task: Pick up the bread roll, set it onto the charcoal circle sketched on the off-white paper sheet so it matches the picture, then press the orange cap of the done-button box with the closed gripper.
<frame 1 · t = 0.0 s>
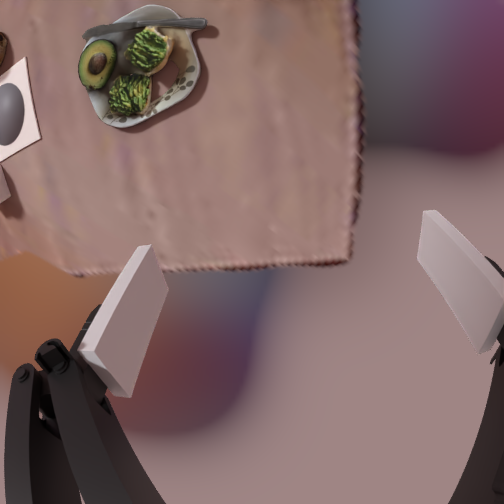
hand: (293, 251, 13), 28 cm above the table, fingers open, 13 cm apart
salad plate: (135, 64, 31), on the table
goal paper: (5, 114, 32), on the table
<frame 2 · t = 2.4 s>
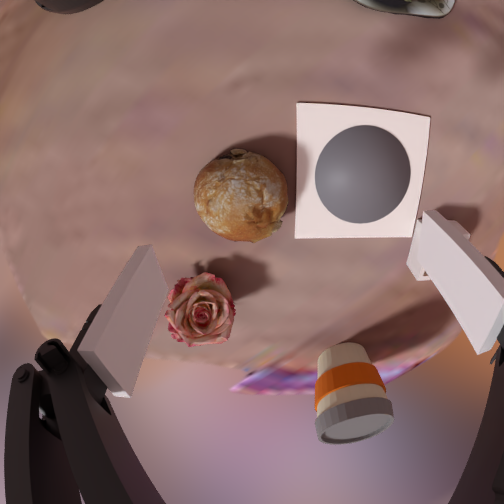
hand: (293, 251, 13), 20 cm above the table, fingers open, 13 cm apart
done button housing: (431, 242, 35), on the table
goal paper: (364, 175, 31), on the table
bread roll: (244, 192, 33), on the table
reusable coffee cup: (341, 357, 49), on the table
flower: (205, 288, 40), on the table
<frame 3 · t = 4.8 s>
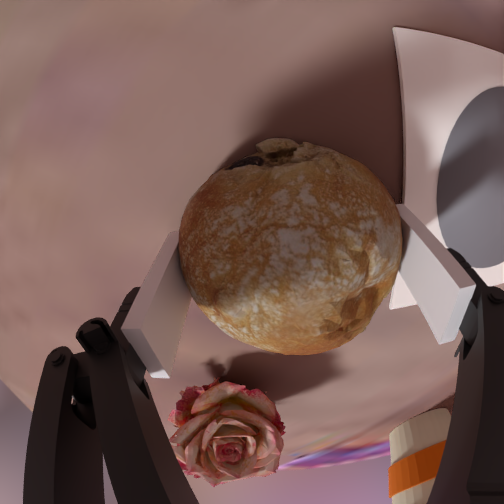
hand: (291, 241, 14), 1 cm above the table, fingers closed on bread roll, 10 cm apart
bread roll: (294, 236, 15), on the table, touching gripper
reusable coffee cup: (419, 423, 29), on the table
flower: (230, 389, 23), on the table
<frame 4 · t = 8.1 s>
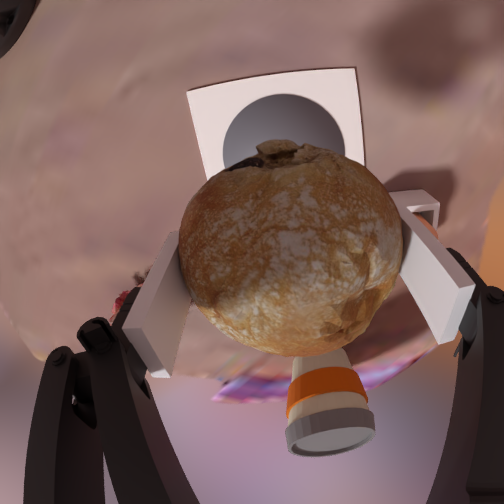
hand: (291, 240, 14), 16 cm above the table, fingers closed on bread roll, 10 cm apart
done button housing: (395, 219, 31), on the table
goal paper: (284, 153, 27), on the table
bread roll: (294, 237, 15), point 15 cm above the table, touching gripper
reusable coffee cup: (319, 360, 44), on the table
done button: (412, 238, 27), point 4 cm above the table, slide at 0.0 cm
when the fingers open (2 cm above the table, at t = 11.3 s): bread roll drops 1 cm, resting on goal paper.
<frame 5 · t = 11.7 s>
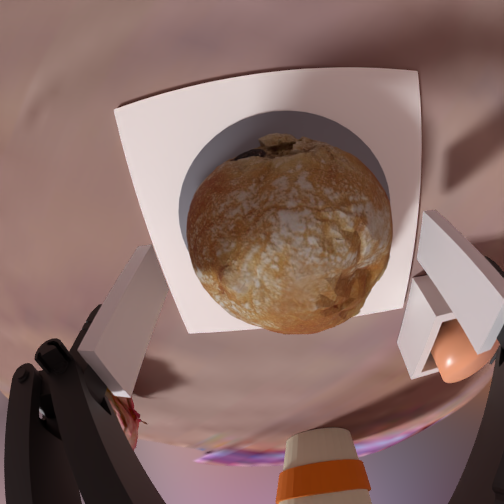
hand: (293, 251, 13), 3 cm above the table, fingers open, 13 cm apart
done button housing: (440, 305, 19), on the table
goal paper: (287, 219, 16), on the table
bread roll: (293, 224, 16), resting on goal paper
reusable coffee cup: (318, 438, 33), on the table
flower: (111, 380, 27), on the table
done button: (464, 345, 16), point 4 cm above the table, slide at 0.0 cm
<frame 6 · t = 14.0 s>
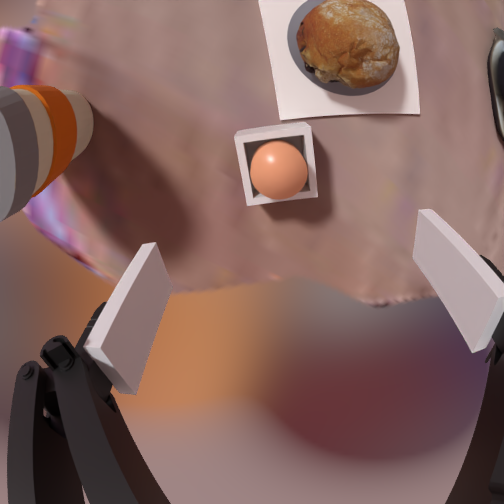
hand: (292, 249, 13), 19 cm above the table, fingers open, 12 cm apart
done button housing: (276, 157, 30), on the table
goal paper: (345, 42, 22), on the table
bread roll: (343, 45, 23), resting on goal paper
reusable coffee cup: (66, 124, 27), on the table
done button: (278, 168, 26), point 4 cm above the table, slide at 0.0 cm
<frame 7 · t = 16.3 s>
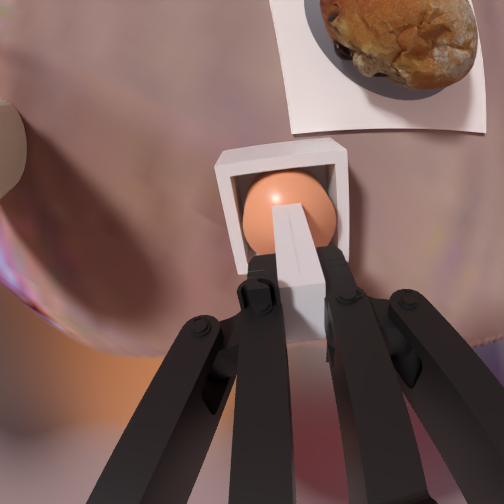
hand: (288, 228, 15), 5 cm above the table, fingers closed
done button housing: (283, 192, 20), on the table
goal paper: (391, 19, 12), on the table
bread roll: (389, 22, 12), resting on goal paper
done button: (287, 213, 17), point 3 cm above the table, slide at 1.0 cm, touching gripper
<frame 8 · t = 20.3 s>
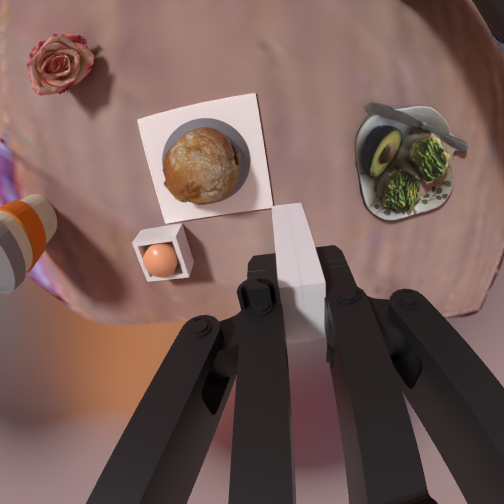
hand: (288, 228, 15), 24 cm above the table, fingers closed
salad plate: (402, 159, 36), on the table
done button housing: (167, 246, 44), on the table
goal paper: (205, 161, 37), on the table
bread roll: (203, 164, 37), resting on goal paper
reusable coffee cup: (40, 216, 42), on the table
flower: (77, 63, 29), on the table
done button: (161, 257, 42), point 3 cm above the table, slide at 1.2 cm
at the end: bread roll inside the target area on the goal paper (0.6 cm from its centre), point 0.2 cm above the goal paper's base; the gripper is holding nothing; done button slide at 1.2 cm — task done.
